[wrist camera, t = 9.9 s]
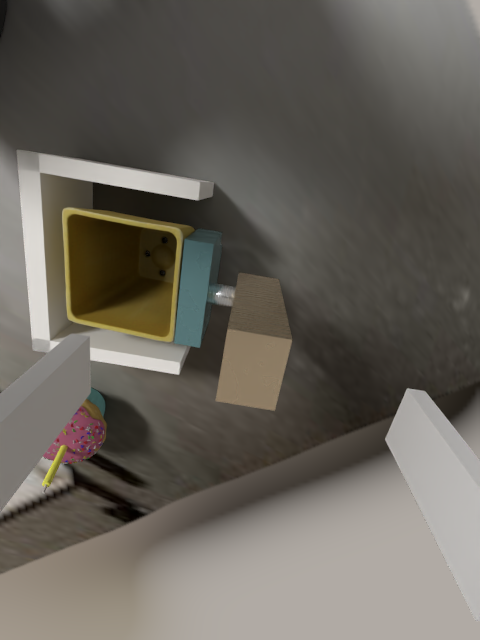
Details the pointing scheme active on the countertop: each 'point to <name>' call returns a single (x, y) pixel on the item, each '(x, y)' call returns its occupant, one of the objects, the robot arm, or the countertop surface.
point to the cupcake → (78, 436)
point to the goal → (48, 251)
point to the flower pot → (123, 272)
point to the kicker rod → (235, 323)
